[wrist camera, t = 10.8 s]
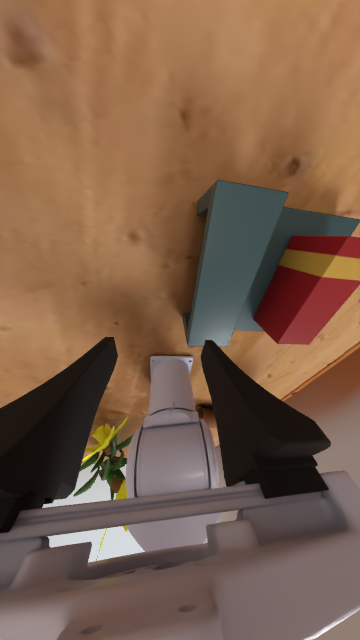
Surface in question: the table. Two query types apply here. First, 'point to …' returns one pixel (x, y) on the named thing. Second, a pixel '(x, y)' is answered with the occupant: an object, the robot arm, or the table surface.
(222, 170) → the table surface
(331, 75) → the table surface
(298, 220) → the shelf rack
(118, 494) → the daffodil flowers
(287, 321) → the candy bar
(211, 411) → the sunglasses case
